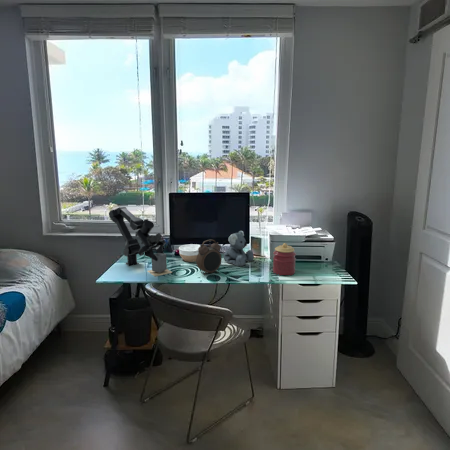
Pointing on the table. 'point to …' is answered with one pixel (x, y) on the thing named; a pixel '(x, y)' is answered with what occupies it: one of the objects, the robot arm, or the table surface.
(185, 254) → the bowl
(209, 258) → the alarm clock
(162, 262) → the gray rectangular block
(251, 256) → the koala plush
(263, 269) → the table surface
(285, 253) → the canister
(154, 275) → the cork mat
